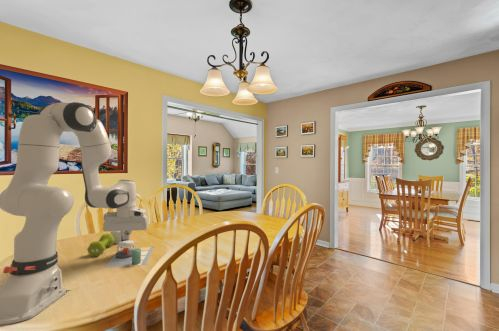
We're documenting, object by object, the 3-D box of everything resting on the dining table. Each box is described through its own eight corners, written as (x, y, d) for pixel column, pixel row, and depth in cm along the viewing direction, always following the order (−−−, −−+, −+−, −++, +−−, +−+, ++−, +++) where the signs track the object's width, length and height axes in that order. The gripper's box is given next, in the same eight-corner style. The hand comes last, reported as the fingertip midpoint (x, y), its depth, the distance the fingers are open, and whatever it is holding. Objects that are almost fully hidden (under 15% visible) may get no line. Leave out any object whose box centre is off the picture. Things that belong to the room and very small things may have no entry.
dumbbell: (103, 257, 118) (103, 242, 118) (85, 257, 117) (85, 243, 117) (116, 245, 135) (116, 232, 134) (100, 246, 133) (101, 233, 133)
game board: (145, 266, 109) (145, 257, 108) (104, 269, 105) (104, 260, 105) (154, 248, 131) (154, 241, 131) (120, 250, 127) (120, 242, 127)
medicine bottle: (121, 244, 136) (121, 223, 136) (110, 243, 138) (110, 222, 137) (129, 240, 144) (130, 220, 143) (119, 239, 145) (119, 219, 144)
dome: (131, 251, 116) (131, 244, 116) (115, 252, 115) (115, 245, 115) (135, 246, 123) (135, 240, 123) (120, 247, 122) (120, 240, 122)
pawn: (139, 264, 109) (139, 251, 108) (130, 265, 108) (130, 252, 108) (141, 261, 112) (141, 248, 112) (132, 261, 112) (133, 248, 111)
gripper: (101, 213, 114) (100, 242, 114) (146, 212, 118) (146, 240, 118) (106, 210, 120) (105, 238, 120) (149, 210, 124) (148, 236, 124)
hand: (126, 239), depth 119 cm, fingers closed
